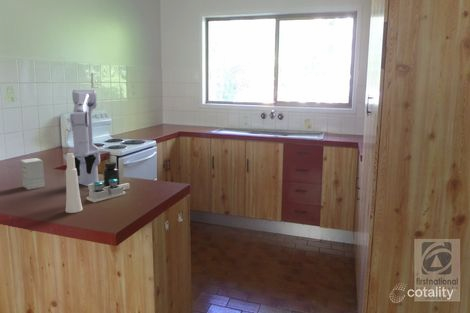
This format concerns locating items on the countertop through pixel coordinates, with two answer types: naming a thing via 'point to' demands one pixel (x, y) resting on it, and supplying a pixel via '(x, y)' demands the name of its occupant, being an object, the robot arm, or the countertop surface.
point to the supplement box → (32, 173)
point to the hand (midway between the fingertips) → (83, 174)
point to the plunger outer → (98, 186)
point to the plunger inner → (113, 183)
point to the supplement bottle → (110, 173)
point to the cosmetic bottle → (72, 186)
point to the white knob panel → (106, 192)
